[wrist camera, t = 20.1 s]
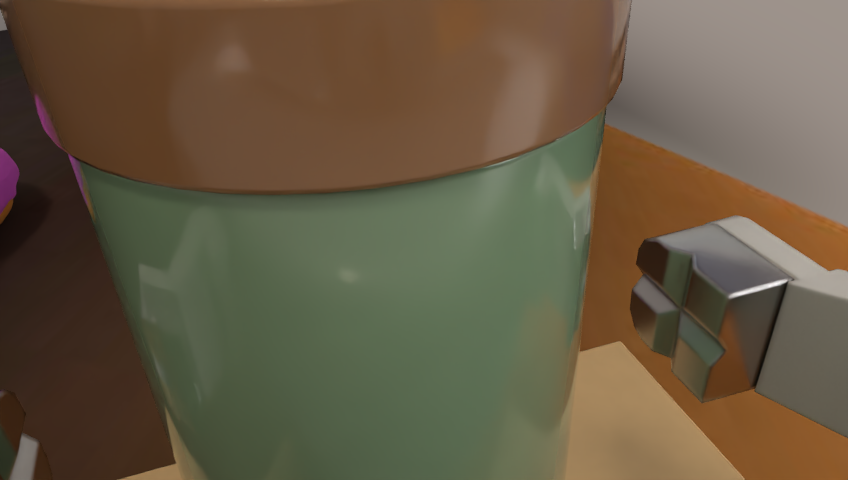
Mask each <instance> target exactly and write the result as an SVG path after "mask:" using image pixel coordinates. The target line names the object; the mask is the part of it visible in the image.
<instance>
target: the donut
mask: <svg viewBox="0 0 848 480" xmlns="http://www.w3.org/2000/svg"><path fill="white" fill-rule="evenodd" d="M18 178H19V169H18V167H17V165H16V164H15V162H14V161H13V160H12V158H11V157H10V156H9V155H8V154H7V153H6V152H5V151H4V150H3V149H1V148H0V224H1V223H2V222H3V220H4V219H5V218H6V216H7V215H8V213H9V212H10V210H11V208H12V205H13V198H14V197H15V195H16V184H17V181H18Z"/></svg>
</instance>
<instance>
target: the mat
mask: <svg viewBox="0 0 848 480" xmlns="http://www.w3.org/2000/svg"><path fill="white" fill-rule="evenodd" d="M118 480H182V478H181V475H180V472H179V470H178V467H177V464H173V465H169V466H165V467H162V468H158V469H155V470H151V471H147V472H144V473H140V474H136V475H133V476H129V477H126V478H122V479H118ZM565 480H745V479H744V477H743V476H742V475H741V474H740V473H739V472H738V471H737V470H736V469H735V468H734V466H733V465H732V464H731V463H730V462H729V461H728V460H727V459H726V458H725V456H724V455H723V454H722V453H721V452H720V451H719V450H718V449H717V448H716V446H715V445H714V444H713V443H712V442H711V441H710V440H709V439H708V438H707V437H706V435H705V434H704V433H703V432H702V431H701V430H700V429H699V428H698V427H697V425H696V424H695V423H694V422H693V421H692V420H691V419H690V418H689V417H688V415H687V414H686V413H685V412H684V411H683V410H682V409H681V408H680V407H679V405H678V404H677V403H676V402H675V401H674V400H673V399H672V398H671V397H670V396H669V394H668V393H667V392H666V391H665V390H664V389H663V388H662V387H661V386H660V384H659V383H658V382H657V381H656V380H655V379H654V378H653V377H652V376H651V374H650V373H649V372H648V371H647V370H646V369H645V368H644V367H643V366H642V364H641V363H640V362H639V361H638V360H637V359H636V358H635V357H634V356H633V355H632V353H631V352H630V351H629V350H628V349H627V348H626V347H625V346H624V345H623V343H622V342H620V341H618V342H614V343H611V344H607V345H603V346H600V347H596V348H593V349H589V350H585V351H582V352H579V358H578V367H577V376H576V385H575V394H574V403H573V412H572V421H571V430H570V439H569V448H568V457H567V466H566V475H565Z"/></svg>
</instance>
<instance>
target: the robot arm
mask: <svg viewBox="0 0 848 480" xmlns="http://www.w3.org/2000/svg"><path fill="white" fill-rule="evenodd" d="M636 265H637V266H638V268H639V269H640V270H641V272H642V273H643V275H642V277H641V278H640V279H639V281H638V282H637V284H636V285H635V286H634V288H633V289H632V294H631V304H630V311H631V315H632V319H633V323H634V327H635V328H636V330H637V332H638V334H639V336H640V337H641V339H642V340H643V341H644V342H645V344H646V345H647V346H648V347H649V348H650V349H651V350H652V351H654V352H657V353H659V354H662V355H664V356H667V357H669V358H671V371H672V372H673V374H674V375H675V376H676V377H677V378H678V379H679V380H680V381H681V382H682V383H683V384H684V385H685V386H686V387H687V388H688V389H689V390H690V391H691V392H692V393H693V394H694V396H695V397H696V398H697V399H698V400H699V401H700V402H701V403H705V402H709V401H712V400H716V399H719V398H723V397H726V396H730V395H733V394H737V393H741V392H744V391H748V390H751V389H755V388H756V389H755V392H757V393H759V394H761V395H763V396H765V397H767V398H769V399H771V400H773V401H775V402H777V403H779V404H781V405H783V406H785V407H787V408H789V409H791V410H793V411H795V412H797V413H799V414H801V415H803V416H805V417H807V418H809V419H811V420H813V421H815V422H817V423H819V424H821V425H823V426H825V427H827V428H829V429H831V430H833V431H835V432H837V433H839V434H841V435H843V436H845V437H847V438H848V272H847V271H844V270H840V269H836V270H832V271H828V270H826V269H825V268H823V267H822V266H820V265H818V264H817V263H815V262H814V261H812V260H811V259H809V258H808V257H806V256H805V255H803V254H802V253H800V252H799V251H797V250H796V249H794V248H793V247H791V246H790V245H788V244H787V243H785V242H784V241H782V240H781V239H779V238H778V237H776V236H774V235H773V234H771V233H770V232H768V231H767V230H765V229H764V228H762V227H761V226H759V225H758V224H756V223H755V222H753V221H752V220H750V219H749V218H746V217H741V216H736V215H735V216H732V217H728V218H724V219H720V220H716V221H713V222H709V223H706V224H705V225H702V226H697V227H693V228H689V229H685V230H681V231H676V232H672V233H668V234H664V235H660V236H656V237H652V238H647V239H644V241H643V243H642V244H641V246H640V248H639V250H638V256H637V261H636ZM25 416H26V413H25V411H24V409H23V407H22V406H21V404H20V402H19V400H18V398H17V397H16V395H15V393H14V392H11V391H9V390H6V389H3V390H0V480H53V479H52V472H51V469H50V465H49V462H48V458H47V455H46V453H45V451H44V449H43V447H42V445H41V443H40V441H39V440H37V439H34V438H32V437H30V436H28V435H26V434H24V433H22V431H23V426H24V421H25Z"/></svg>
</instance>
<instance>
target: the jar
mask: <svg viewBox="0 0 848 480" xmlns="http://www.w3.org/2000/svg"><path fill="white" fill-rule="evenodd" d="M631 3H632V0H0V10H1V13H2V16H3V18H4V21H5V23H6V26H7V29H8V32H9V35H10V38H11V40H12V43H13V46H14V49H15V51H16V54H17V57H18V60H19V62H20V65H21V68H22V71H23V73H24V76H25V79H26V82H27V84H28V87H29V90H30V93H31V95H32V98H33V101H34V104H35V106H36V109H37V112H38V115H39V117H40V120H41V123H42V126H43V128H44V130H45V131H46V132H47V134H48V135H49V136H50V137H51V139H52V140H53V141H54V142H55V143H56V145H57V146H58V147H59V148H61V149H62V150H63V151H65V152H66V153H68V155H69V158H70V161H71V164H72V167H73V170H74V172H75V175H76V178H77V181H78V184H79V187H80V190H81V192H82V195H83V198H84V201H85V204H86V207H87V210H88V212H89V215H90V218H91V221H92V224H93V227H94V230H95V232H96V235H97V238H98V241H99V244H100V247H101V250H102V252H103V255H104V258H105V261H106V264H107V267H108V270H109V272H110V275H111V278H112V281H113V284H114V287H115V290H116V292H117V295H118V298H119V301H120V304H121V307H122V310H123V312H124V315H125V318H126V321H127V324H128V327H129V330H130V332H131V335H132V338H133V341H134V344H135V347H136V350H137V352H138V355H139V358H140V361H141V364H142V367H143V370H144V372H145V375H146V378H147V381H148V384H149V387H150V390H151V392H152V395H153V398H154V401H155V404H156V407H157V410H158V412H159V415H160V418H161V421H162V424H163V427H164V430H165V432H166V435H167V438H168V441H169V444H170V447H171V450H172V452H173V455H174V458H175V461H176V464H177V467H178V470H179V472H180V475H181V478H182V480H565V475H566V466H567V457H568V448H569V439H570V430H571V421H572V412H573V403H574V394H575V385H576V376H577V367H578V358H579V349H580V340H581V331H582V322H583V313H584V304H585V295H586V286H587V277H588V268H589V259H590V250H591V241H592V232H593V223H594V214H595V205H596V196H597V187H598V178H599V169H600V160H601V151H602V142H603V133H604V124H605V115H606V106H607V104H608V103H609V102H610V101H611V100H612V99H613V97H614V95H615V94H616V92H617V89H618V87H619V85H620V83H621V81H622V77H623V69H624V60H625V52H626V44H627V35H628V28H629V19H630V11H631Z"/></svg>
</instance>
